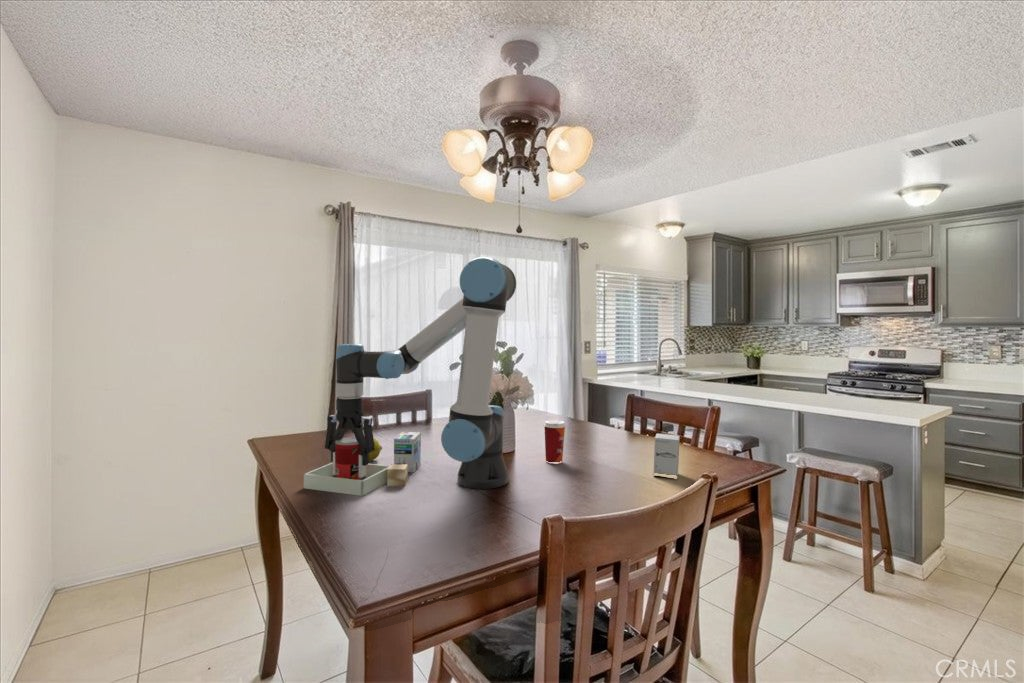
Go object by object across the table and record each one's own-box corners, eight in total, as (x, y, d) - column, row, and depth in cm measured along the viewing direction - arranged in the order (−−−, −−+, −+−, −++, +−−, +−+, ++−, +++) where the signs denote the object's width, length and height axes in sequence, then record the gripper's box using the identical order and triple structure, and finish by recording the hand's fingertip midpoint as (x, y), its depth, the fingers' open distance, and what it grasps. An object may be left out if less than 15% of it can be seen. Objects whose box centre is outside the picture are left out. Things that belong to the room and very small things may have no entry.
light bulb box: (414, 473, 153) (414, 439, 152) (392, 472, 153) (393, 438, 152) (421, 463, 163) (421, 431, 163) (401, 463, 163) (401, 431, 163)
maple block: (407, 480, 145) (407, 464, 145) (404, 486, 140) (404, 469, 140) (390, 480, 144) (390, 464, 144) (387, 486, 140) (387, 469, 139)
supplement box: (652, 477, 152) (653, 437, 152) (655, 470, 159) (656, 432, 158) (677, 480, 149) (678, 439, 149) (678, 473, 156) (679, 434, 156)
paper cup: (566, 465, 163) (566, 424, 163) (543, 464, 164) (544, 423, 163) (564, 459, 171) (564, 419, 171) (542, 458, 171) (543, 419, 171)
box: (392, 479, 146) (392, 466, 145) (362, 496, 131) (362, 481, 131) (337, 473, 151) (337, 460, 151) (303, 488, 136) (303, 474, 136)
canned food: (355, 482, 136) (355, 443, 136) (329, 480, 138) (329, 442, 138) (368, 474, 144) (368, 437, 144) (344, 472, 145) (344, 436, 145)
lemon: (381, 457, 170) (381, 434, 170) (383, 463, 163) (383, 439, 163) (348, 459, 166) (348, 436, 166) (349, 465, 159) (349, 441, 159)
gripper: (388, 397, 141) (387, 474, 142) (327, 393, 147) (327, 467, 148) (374, 400, 134) (373, 482, 134) (311, 396, 140) (310, 474, 140)
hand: (349, 474), depth 141 cm, fingers closed on canned food, 8 cm apart
